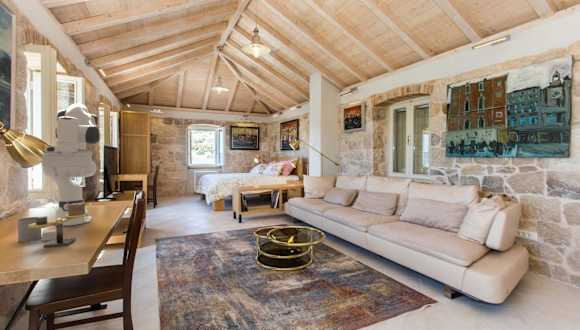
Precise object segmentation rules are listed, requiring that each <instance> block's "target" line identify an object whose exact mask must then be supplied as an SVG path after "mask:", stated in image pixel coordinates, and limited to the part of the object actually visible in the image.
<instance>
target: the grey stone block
mask: <svg viewBox="0 0 580 330" xmlns="http://www.w3.org/2000/svg"><path fill="white" fill-rule="evenodd" d="M52 239H57V237H56V228H55V229H48V230H42V242H43V241H51V240H52Z"/></svg>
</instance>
